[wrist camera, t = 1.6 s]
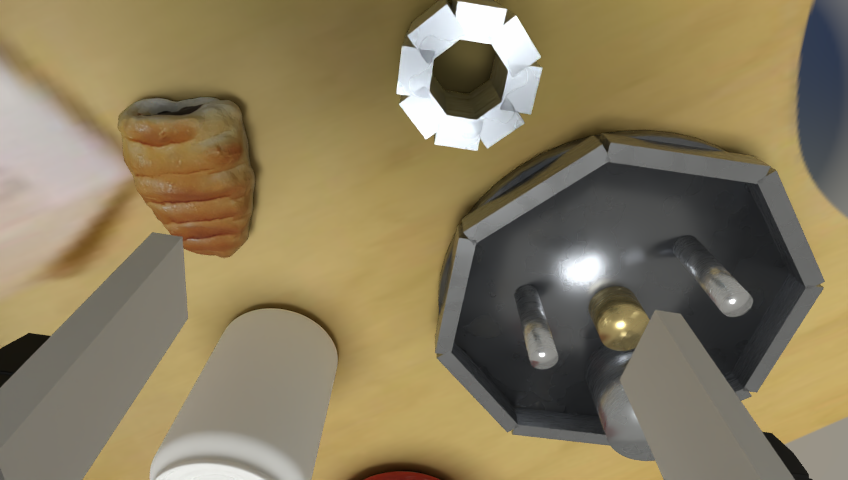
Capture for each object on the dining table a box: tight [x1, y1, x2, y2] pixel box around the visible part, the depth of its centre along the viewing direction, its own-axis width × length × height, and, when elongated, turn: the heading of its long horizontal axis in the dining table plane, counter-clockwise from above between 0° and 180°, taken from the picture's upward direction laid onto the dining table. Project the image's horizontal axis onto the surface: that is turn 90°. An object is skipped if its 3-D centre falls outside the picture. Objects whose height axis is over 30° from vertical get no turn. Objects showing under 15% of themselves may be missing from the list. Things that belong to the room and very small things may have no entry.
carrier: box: [435, 130, 825, 461], centre depth 30 cm, size 22×22×7 cm
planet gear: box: [396, 0, 542, 151], centre depth 24 cm, size 6×6×5 cm
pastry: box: [118, 97, 255, 258], centre depth 28 cm, size 9×7×4 cm
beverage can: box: [150, 308, 338, 480], centre depth 31 cm, size 8×8×12 cm
